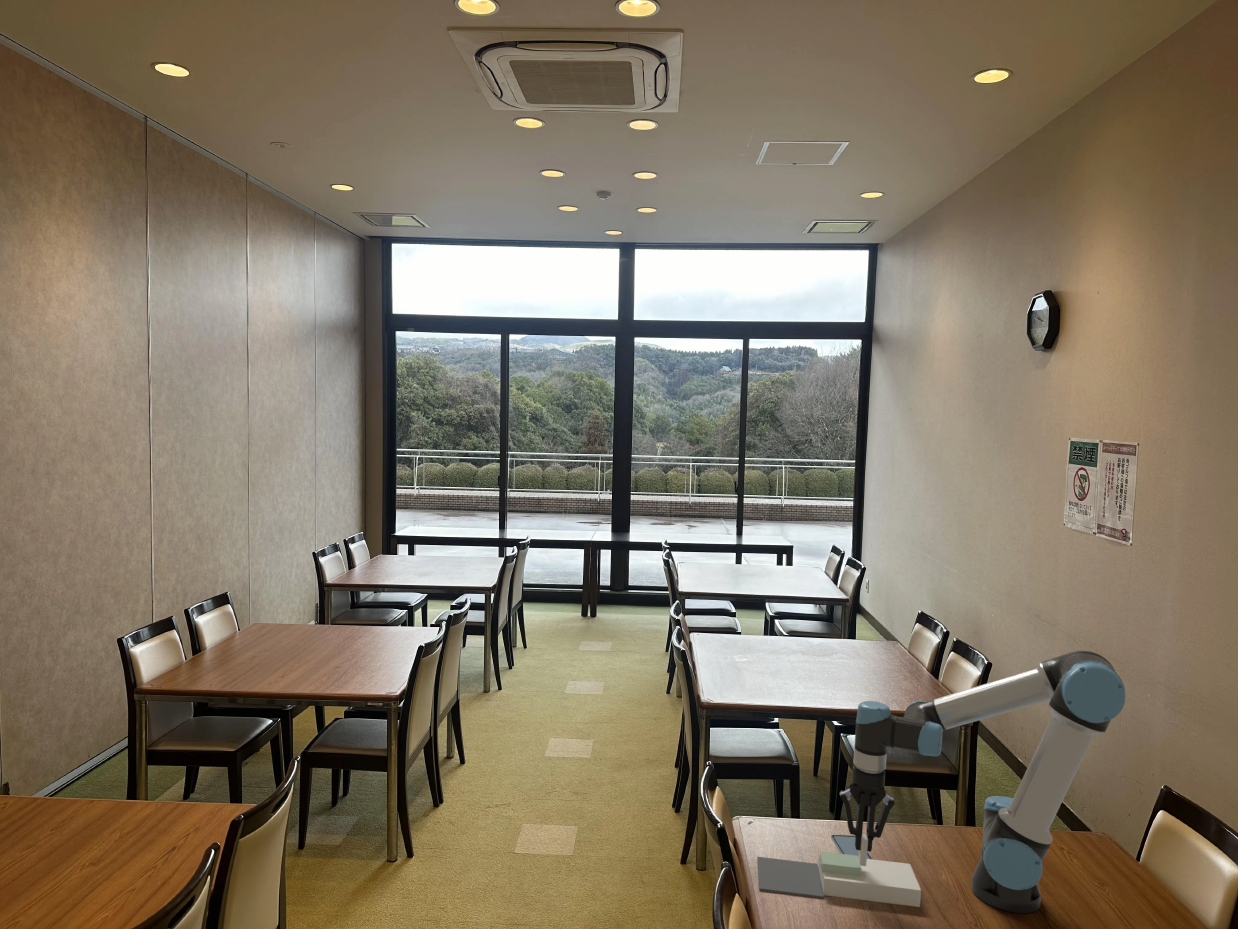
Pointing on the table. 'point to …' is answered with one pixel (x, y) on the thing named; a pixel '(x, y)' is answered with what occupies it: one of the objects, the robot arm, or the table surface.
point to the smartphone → (846, 845)
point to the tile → (840, 863)
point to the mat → (789, 877)
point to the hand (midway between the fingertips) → (862, 863)
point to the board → (875, 883)
